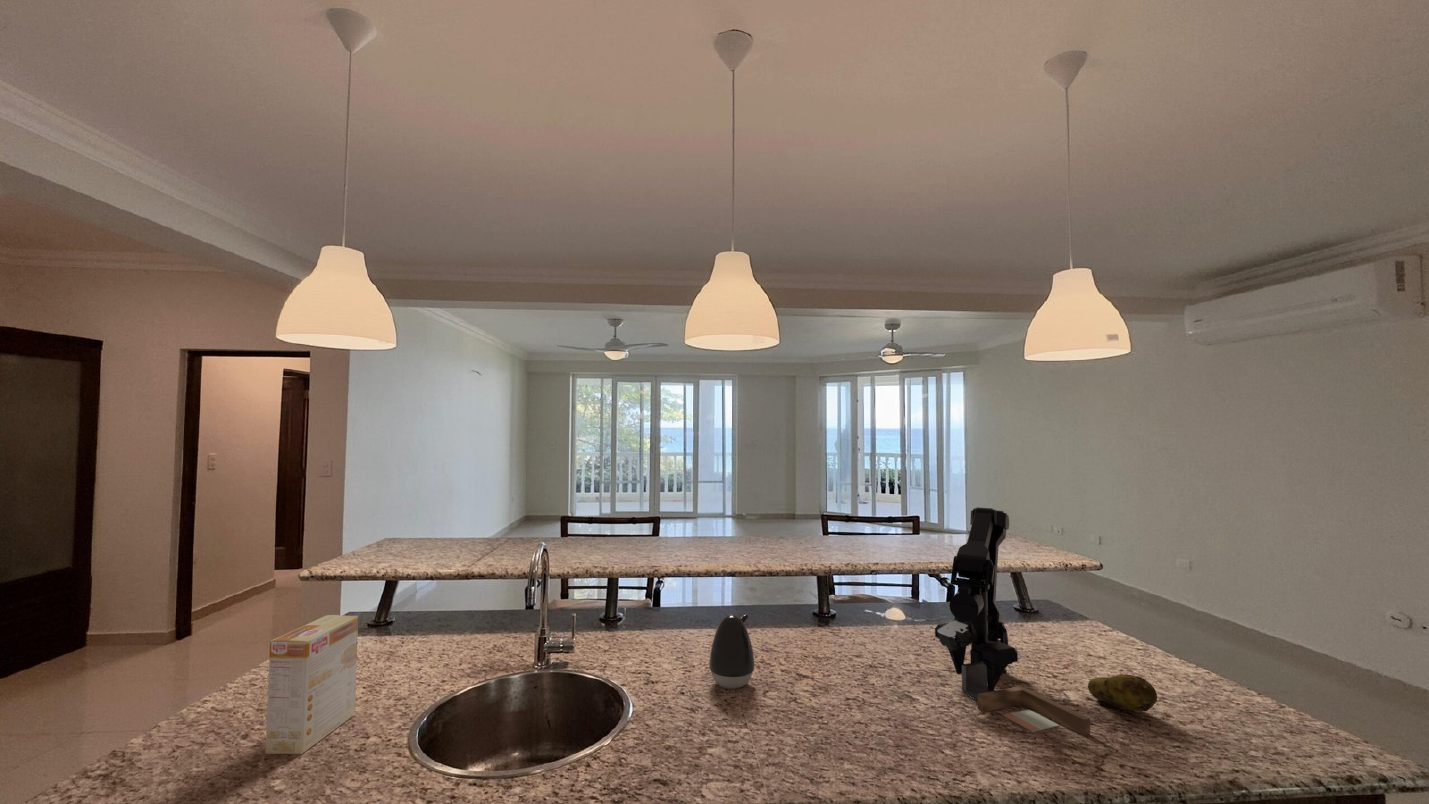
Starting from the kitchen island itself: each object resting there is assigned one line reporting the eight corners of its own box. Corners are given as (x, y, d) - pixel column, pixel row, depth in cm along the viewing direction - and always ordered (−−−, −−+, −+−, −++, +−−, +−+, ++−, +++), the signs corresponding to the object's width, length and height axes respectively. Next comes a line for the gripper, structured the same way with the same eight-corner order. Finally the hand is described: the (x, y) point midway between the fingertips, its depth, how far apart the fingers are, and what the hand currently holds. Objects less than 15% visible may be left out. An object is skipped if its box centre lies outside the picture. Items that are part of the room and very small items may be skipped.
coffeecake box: (321, 714, 118) (326, 614, 119) (356, 714, 118) (360, 614, 119) (262, 754, 103) (267, 640, 104) (302, 755, 103) (307, 640, 104)
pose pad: (1028, 710, 121) (1028, 709, 122) (1059, 726, 115) (1059, 725, 115) (1002, 715, 119) (1002, 714, 119) (1032, 732, 112) (1032, 731, 112)
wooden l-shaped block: (1019, 699, 127) (1019, 685, 127) (1090, 735, 112) (1089, 718, 112) (975, 708, 122) (975, 693, 123) (1043, 746, 107) (1042, 729, 108)
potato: (1121, 696, 128) (1120, 659, 129) (1166, 725, 115) (1165, 683, 116) (1083, 696, 128) (1082, 658, 129) (1123, 725, 115) (1122, 683, 116)
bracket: (983, 688, 132) (982, 661, 132) (1005, 700, 126) (1004, 671, 127) (962, 692, 130) (961, 664, 130) (983, 704, 124) (982, 675, 125)
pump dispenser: (764, 683, 134) (764, 615, 135) (733, 698, 126) (734, 625, 127) (730, 671, 141) (730, 606, 142) (699, 684, 133) (700, 615, 134)
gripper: (915, 602, 137) (916, 670, 136) (977, 626, 120) (978, 705, 119) (953, 597, 141) (954, 664, 140) (1018, 620, 124) (1020, 697, 123)
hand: (974, 681), depth 131 cm, fingers open, 9 cm apart
